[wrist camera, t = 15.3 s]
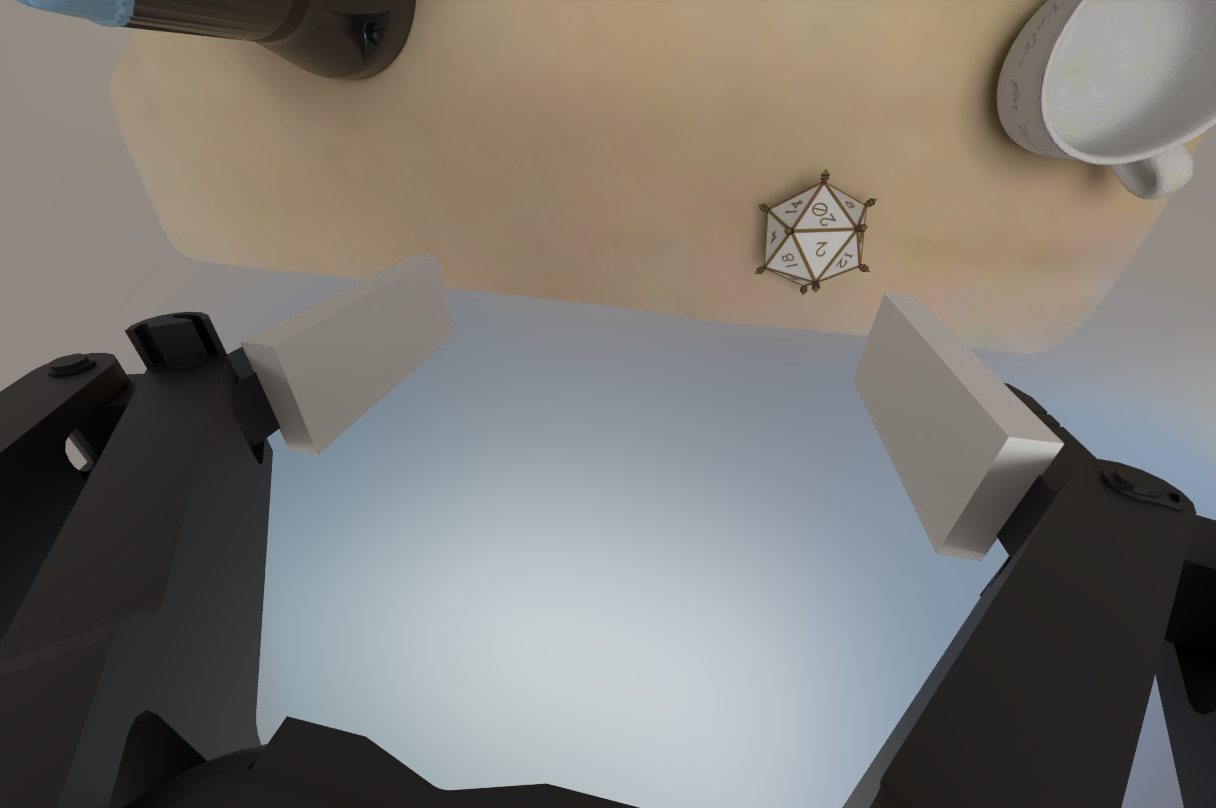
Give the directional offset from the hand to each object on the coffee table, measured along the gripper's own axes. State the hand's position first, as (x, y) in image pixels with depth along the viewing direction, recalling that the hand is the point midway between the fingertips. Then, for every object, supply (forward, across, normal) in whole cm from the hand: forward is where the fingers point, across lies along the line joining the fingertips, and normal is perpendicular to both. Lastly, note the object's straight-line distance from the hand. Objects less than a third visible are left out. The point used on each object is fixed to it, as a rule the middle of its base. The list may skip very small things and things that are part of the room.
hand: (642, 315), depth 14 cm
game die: (+31, +10, -3) cm, 32 cm away
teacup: (+31, +25, +7) cm, 40 cm away
